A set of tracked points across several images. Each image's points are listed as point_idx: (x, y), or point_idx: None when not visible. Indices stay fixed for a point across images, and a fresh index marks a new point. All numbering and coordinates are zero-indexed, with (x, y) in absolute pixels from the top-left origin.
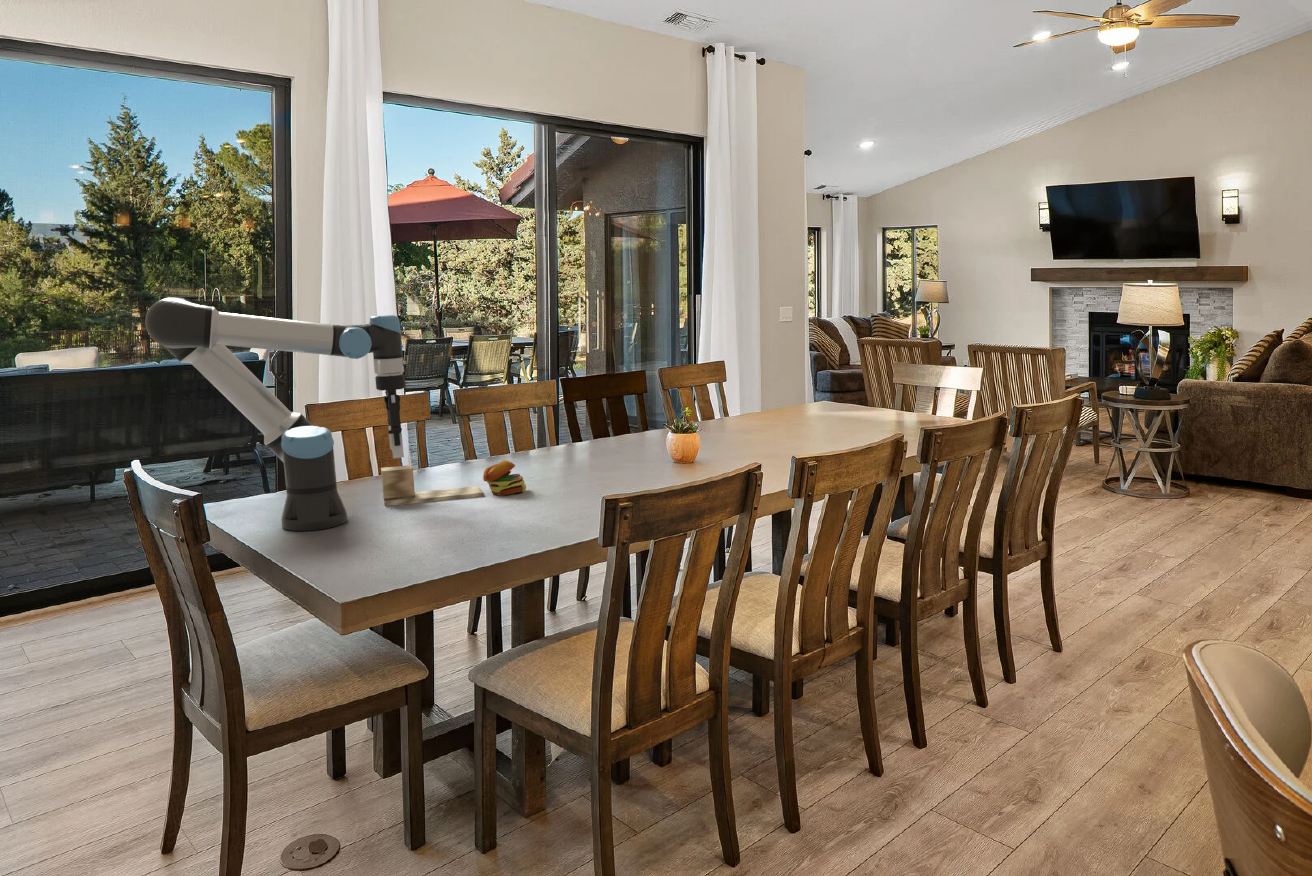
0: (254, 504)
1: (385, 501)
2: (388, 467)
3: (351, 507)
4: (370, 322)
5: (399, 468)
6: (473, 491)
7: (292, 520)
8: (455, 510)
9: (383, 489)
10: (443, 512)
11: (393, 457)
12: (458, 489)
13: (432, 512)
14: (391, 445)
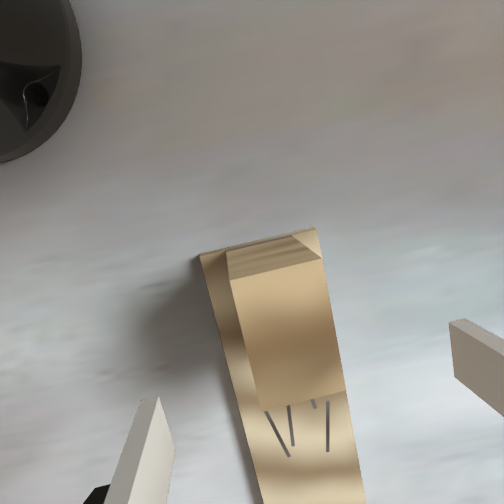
0: None
1: (212, 257)
2: (320, 294)
3: (203, 136)
4: None
5: (279, 352)
6: (294, 502)
7: None
8: (100, 477)
9: (227, 260)
10: (79, 449)
11: (139, 406)
12: (334, 456)
13: (83, 419)
14: (468, 341)
